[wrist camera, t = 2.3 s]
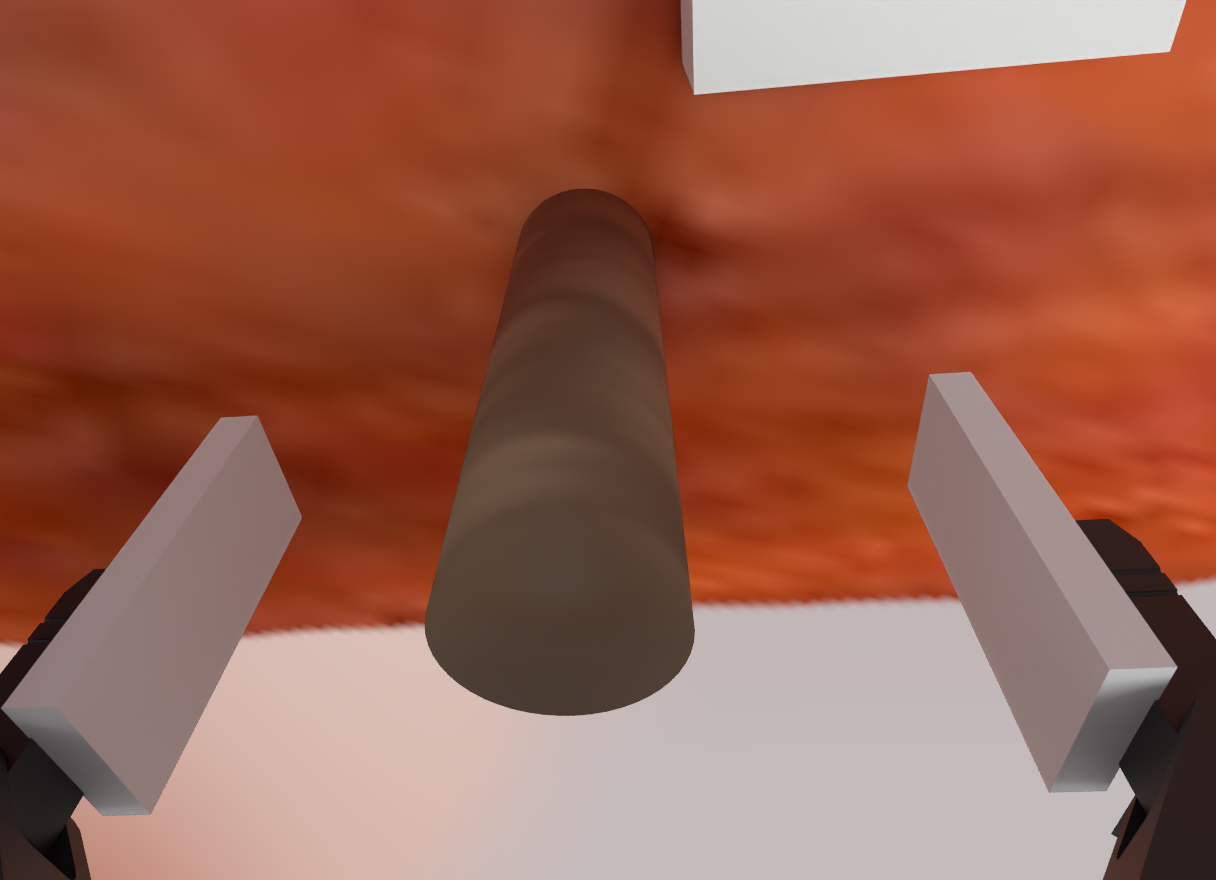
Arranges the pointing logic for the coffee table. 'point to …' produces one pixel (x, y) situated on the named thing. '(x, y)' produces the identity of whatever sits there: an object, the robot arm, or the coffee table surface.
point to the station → (905, 37)
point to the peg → (569, 482)
